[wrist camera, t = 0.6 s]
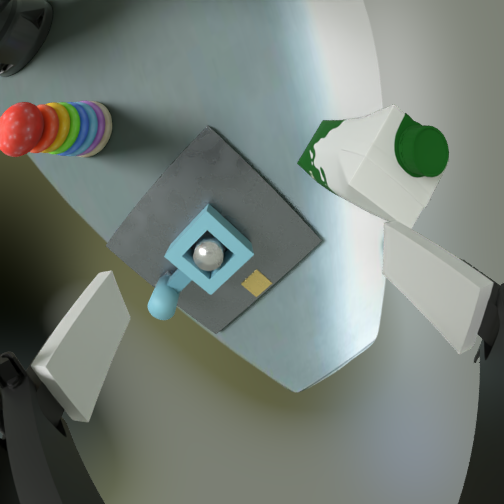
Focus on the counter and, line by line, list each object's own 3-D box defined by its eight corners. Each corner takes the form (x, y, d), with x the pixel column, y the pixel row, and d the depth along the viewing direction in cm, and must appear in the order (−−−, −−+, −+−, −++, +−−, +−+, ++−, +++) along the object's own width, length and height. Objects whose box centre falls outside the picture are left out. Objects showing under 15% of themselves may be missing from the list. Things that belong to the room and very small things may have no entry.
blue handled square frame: (141, 276, 39) (130, 298, 33) (208, 203, 36) (205, 214, 30) (182, 309, 41) (176, 333, 36) (251, 242, 38) (255, 260, 33)
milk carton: (369, 146, 35) (470, 162, 17) (338, 198, 38) (423, 251, 20) (320, 111, 33) (405, 90, 15) (286, 166, 36) (347, 193, 17)
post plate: (108, 243, 38) (91, 259, 32) (208, 126, 33) (204, 122, 27) (216, 330, 45) (215, 354, 39) (319, 238, 40) (333, 254, 35)
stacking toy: (81, 167, 33) (-8, 194, 16) (60, 123, 30) (-31, 127, 13) (123, 136, 32) (41, 138, 15) (100, 91, 29) (16, 67, 12)
